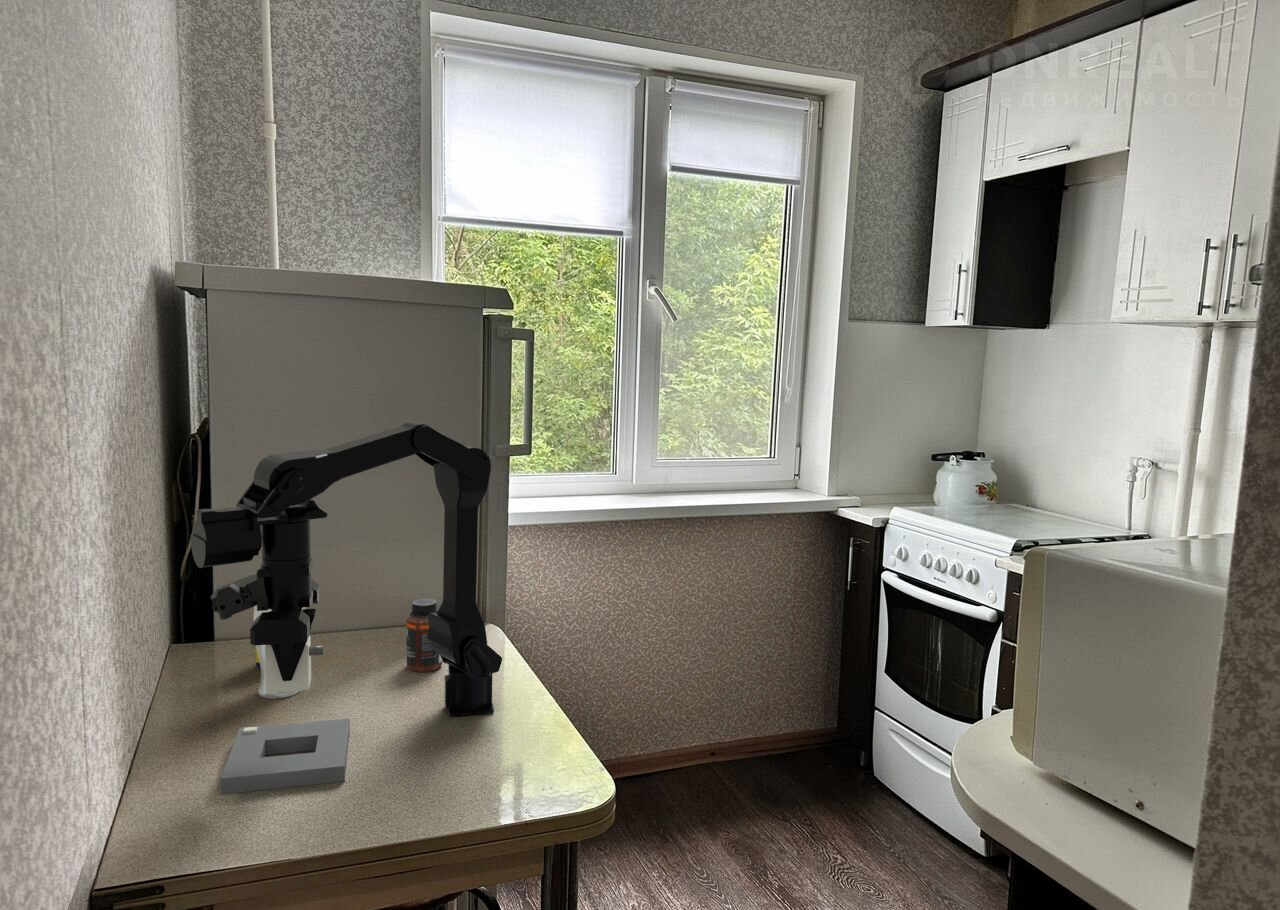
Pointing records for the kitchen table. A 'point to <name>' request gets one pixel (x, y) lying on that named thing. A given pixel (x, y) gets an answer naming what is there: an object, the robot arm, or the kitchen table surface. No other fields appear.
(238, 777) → the socket plate
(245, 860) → the kitchen table surface
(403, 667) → the kitchen table surface
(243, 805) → the kitchen table surface
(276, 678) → the plug
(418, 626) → the supplement bottle
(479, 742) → the kitchen table surface
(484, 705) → the robot arm
